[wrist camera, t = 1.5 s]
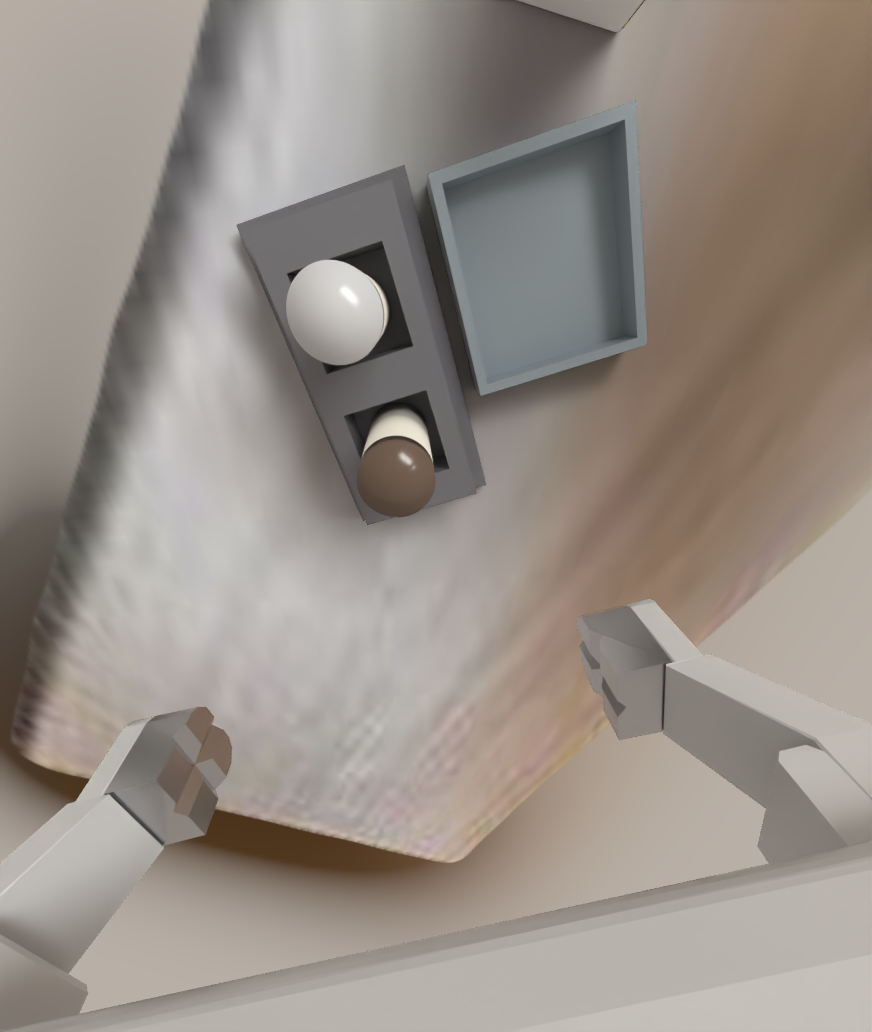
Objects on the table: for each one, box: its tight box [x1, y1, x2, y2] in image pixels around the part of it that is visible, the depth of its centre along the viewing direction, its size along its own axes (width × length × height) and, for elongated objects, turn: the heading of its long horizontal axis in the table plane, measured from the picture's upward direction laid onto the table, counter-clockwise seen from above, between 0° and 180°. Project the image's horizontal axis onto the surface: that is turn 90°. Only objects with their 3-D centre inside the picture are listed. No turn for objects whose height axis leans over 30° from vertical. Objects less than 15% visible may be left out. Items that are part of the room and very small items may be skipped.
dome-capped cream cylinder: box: [286, 260, 390, 365], centre depth 22 cm, size 4×4×10 cm
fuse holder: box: [237, 165, 486, 525], centre depth 27 cm, size 20×10×4 cm, turn 16°
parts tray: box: [426, 100, 647, 396], centre depth 25 cm, size 11×12×2 cm
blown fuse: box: [357, 402, 436, 517], centre depth 25 cm, size 4×4×10 cm
